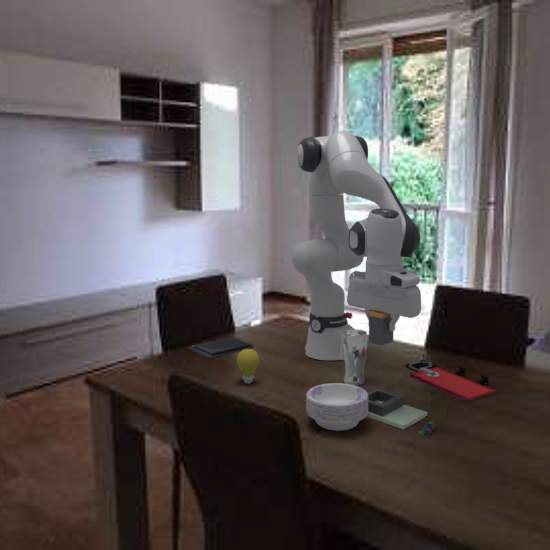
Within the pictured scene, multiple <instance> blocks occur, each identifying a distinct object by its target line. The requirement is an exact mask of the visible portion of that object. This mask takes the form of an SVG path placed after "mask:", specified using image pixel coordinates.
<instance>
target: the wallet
mask: <svg viewBox="0 0 550 550" xmlns="http://www.w3.org/2000/svg"><path fill="white" fill-rule="evenodd" d="M254 346H255V345H253V344H252V343H249V342H247V341H243V340H241V339H238V338H236V337H233V336H230V337H227V338H226V337H225V338H220V339H217V340H212V341H208V342H202V343H199V344H194V345H192V346H189V347H188V346H187V347H186V349H187V350H189V351H191V352H193V353H195V354H196V355H197V354H198V355H199V356H201V357H204V358H205V359H215V358H218V357H223V356H225V355H231V354H234V353H237V351H239V352H241V350H244V349H249V348H252V349H254V348H253V347H254ZM233 352H234V353H233Z"/></svg>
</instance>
